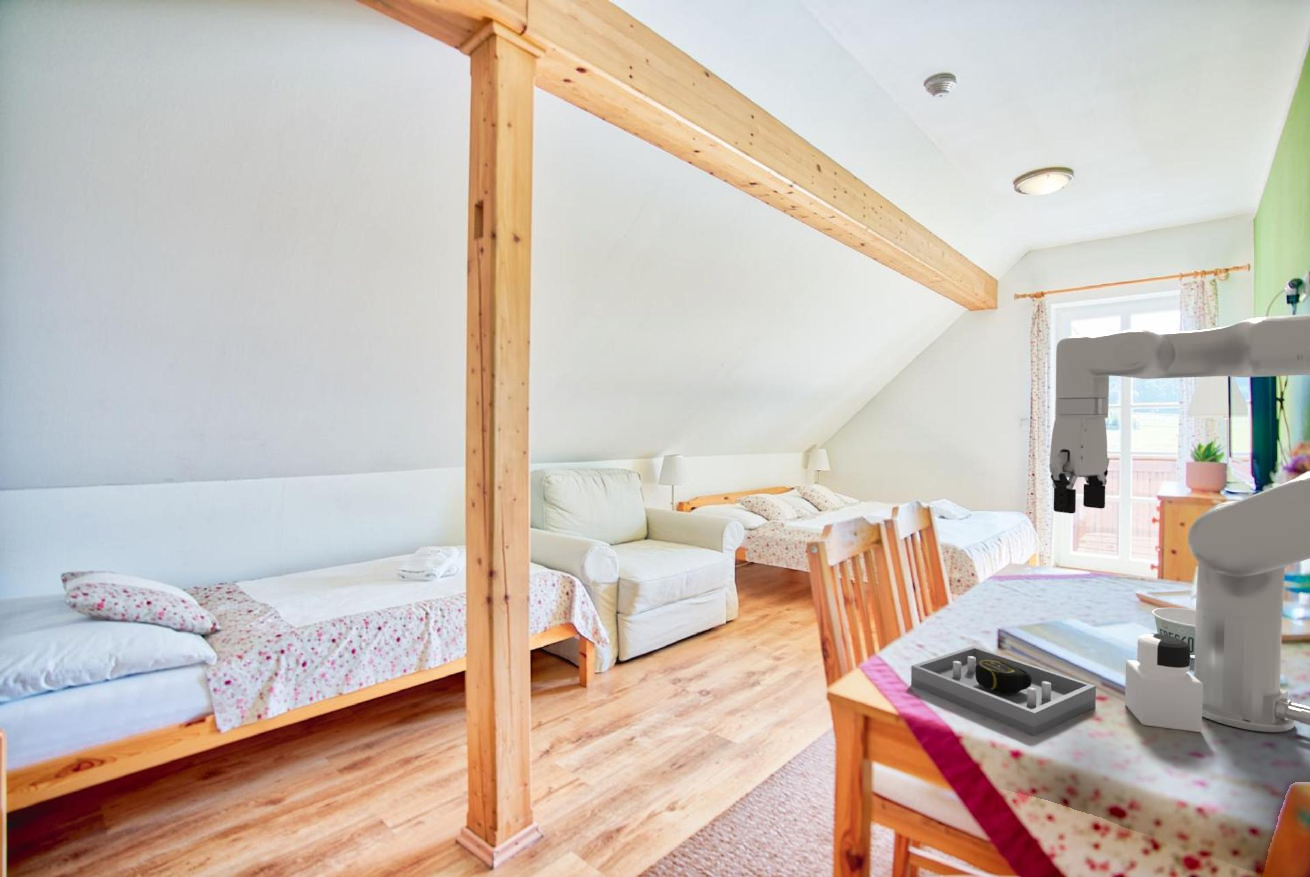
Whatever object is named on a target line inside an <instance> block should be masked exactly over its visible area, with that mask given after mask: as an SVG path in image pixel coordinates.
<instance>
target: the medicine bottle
mask: <svg viewBox="0 0 1310 877" xmlns="http://www.w3.org/2000/svg"><path fill="white" fill-rule="evenodd" d="M1136 656H1137V657H1136V660H1134V659H1127V660H1126V661H1125V682H1124V683H1125V688H1124V690H1125V691H1124V704H1125V706H1126V707H1127V709H1128V710H1130V712H1131V713H1132V714H1133V715H1134V716H1135V718H1136V719H1137V720H1138V721H1139V722H1140V724H1141V725H1143V726H1147V727H1156V728H1162V729H1170V730H1179V731H1186V732H1188V731H1189V732H1196V733H1201V732H1202V731H1203V717H1202V704H1203V684H1202V683H1201V682H1200V681H1199V680H1198V679H1196V678H1195V677H1194V674H1192V673H1191V672H1190V668H1191V667H1190V666H1191V664H1190V661H1191V658H1190V646H1189V645H1188V644H1187V643H1186V642H1184V641H1182V640H1180V639H1178V638H1176V637H1173V636H1169V635H1163V634H1158V633H1146V634H1141V635H1139V636H1138V637H1137V654H1136Z"/></svg>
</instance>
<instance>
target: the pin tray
mask: <svg viewBox="0 0 1310 877" xmlns="http://www.w3.org/2000/svg"><path fill="white" fill-rule="evenodd" d="M991 659H998V660H1001V661H1003V662H1005V663H1008V664H1011V665H1013V666H1015V667H1017V668H1020V669H1022V670H1024V671H1025V672H1027V673H1029V674H1030V676H1031V678H1032V682H1031V686H1030V687H1028V688H1027V689H1024V690H1021V691H1019V692H1017V693H1001V692H1000V693H997V692H995V691H992V690H990V689H987V688H985V687H983V686H981V685H980V684H979V683H978V682H977V680H976V677H975V673H976V672H975V667H976V665H977V664H978V662H979V661H981V660H991ZM910 671H911V674H910V675H911V676H910V678H911V680H910V682H911V684H910V685H911V686H913V687H916V688H918V689H921V690H923V691H925V692H927V693H931V694H933V695H935V696H938V697H941V698H943V699H945V700H947V701H950V702H951V703H955V704H957V705H959V706H962V707H964V708H967V709H969V710H971V711H974V712H976V713H979V714H981V715H984V716H986V717H988V718H991V719H992V720H995V721H998V722H1001V723H1003V724H1005V725H1008V726H1010V727H1012V728H1015V729H1016V730H1018V731H1022V732H1024V733H1027V734H1029V735H1032V736H1033V737H1034V736H1037V735H1038V734H1041V733H1043V732H1045V731H1047V730H1049V729H1051V728H1053V727H1055V726H1058V725H1059V724H1061V723H1064V722H1065V721H1068V720H1070V719H1072V718H1074V717H1076V716H1078V715H1081V714H1083V713H1084V712H1087V711H1088V710H1091V709H1093V708H1095V707H1096V702H1097V699H1096V695H1097V694H1096V693H1097V685H1096V684H1095V685H1094V684H1093V683H1092V684H1091V683H1088V682H1085V681H1083V680H1079V679H1076V678H1073V677H1070V676H1067V675H1064V674H1062V673H1058V672H1055V671H1052V670H1048V669H1046V668H1043V667H1039V666H1036V665H1032V664H1030V663H1027V662H1023V661H1021V660H1017V659H1014V658H1011V657H1008V656H1005V655H1003V654H999V653H997V652H996V653H995V652H992V651H990V650H987V649H984V648H980V647H977V646H975V645H971V646H969V647H966V648H962V649H960V650H956V651H953V652H950V653H946V654H944V655H940V656H937V657H934V658H931V659H928V660H924V661H922V662H917V663H915V664H913V665H911V668H910Z"/></svg>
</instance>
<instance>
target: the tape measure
mask: <svg viewBox="0 0 1310 877" xmlns="http://www.w3.org/2000/svg"><path fill="white" fill-rule="evenodd" d="M975 672H976V673H975V677H976V680H977V682H978V683H979V684H980V685H981V686H983V687H985V688H987V689H990V690H992V691H995V692H997V693H1000V692H1001V693H1017V692H1019V691H1021V690H1024V689H1027V688H1028V687H1030V686H1031V682H1032V678H1031V676H1030V674H1029V673H1027V672H1025V671H1024V670H1022V669H1020V668H1017V667H1015V666H1013V665H1011V664H1008V663H1005V662H1003V661H1001V660H998V659H991V660H981V661H979V662H978V664H977V665H976V667H975Z"/></svg>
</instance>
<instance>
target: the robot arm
mask: <svg viewBox="0 0 1310 877" xmlns="http://www.w3.org/2000/svg"><path fill="white" fill-rule="evenodd" d="M1055 360H1056V361H1055V362H1056V363H1055V405H1054V406H1055V412H1054V414H1055V416H1054V423H1053V428H1052V434H1051V442H1050V443H1051V444H1050V451H1049V452H1050V453H1049V454H1050V456H1049V472H1050V474H1051V475H1050V479H1051V480H1052V483H1051V484H1052V488H1053V511H1054V512H1056V513H1065V514H1075V513H1076V511H1077V510H1076V505H1077V501H1076V500H1077V489H1076V488H1075V489H1074V486H1075V484H1076V482H1077V479H1078V478H1084V481H1085V482H1086V483H1084V484H1083V502H1082V503H1083V504H1082V505H1083V507H1085V508H1092V509H1105V507H1106V485H1107V482H1108V481H1107V475H1109V474H1108V473H1109V471H1108V468H1109V464H1110V459H1109V457H1108V437H1107V436H1108V435H1107V424H1106V423H1107V422H1106V419H1109V400H1110V398H1109V395H1110V394H1109V393H1110V392H1109V391H1110V377H1111V376H1112V377H1113V376H1114V377H1125V378H1134V379H1141V380H1151V379H1152V380H1154V379H1155V380H1156V379H1179V378H1180V379H1181V378H1183V379H1184V378H1207V377H1208V378H1209V377H1233V378H1256V377H1257V378H1259V377H1284V376H1285V377H1289V376H1310V313H1302V314H1289V315H1288V314H1287V315H1274V316H1261V317H1254V318H1250V319H1246V320H1242V321H1239V322H1236V323H1234V324H1231V325H1227V326H1223V327H1216V328H1209V329H1202V330H1201V329H1200V330H1192V331H1191V330H1190V331H1178V332H1164V333H1163V332H1162V333H1154V332H1152V331H1149V330H1144V329H1137V328H1136V329H1127V330H1123V331H1118V332H1113V333H1107V334H1101V335H1097V334H1096V335H1094V334H1092V335H1091V334H1088V335H1085V334H1084V335H1075V336H1074V335H1073V336H1068V337H1064V338H1062V339H1060V340H1059V342H1057V345H1056V359H1055ZM1187 543H1188V544H1187V545H1188V548H1189V551H1190V553H1191V554H1192V556H1193V557H1194V559H1195V560H1196V562H1197V574H1196V575H1197V576H1196V591H1195V593H1196V594H1195V595H1196V596H1195V610H1196V623H1195V659H1194V663H1193V664H1194V667H1193V668H1194V669H1193V672H1194V673H1193V676H1194V677H1195V678H1196V679H1198V680H1199V681H1200V682H1201V683H1202V684H1203V704H1202V718H1205V719H1207V720H1210V721H1213V722H1216V723H1219V724H1222V725H1226V726H1229V727H1235V728H1237V729H1243V730H1249V731H1255V732H1264V733H1283V732H1288V731H1290V730H1293V728H1294V726H1295V722H1298V723H1300V724H1302V725H1303V724H1304V725H1305V726H1310V706H1308V705H1304V704H1298V703H1295V702H1293V701H1292V700H1291V699H1289V697H1288V696H1289V695H1288V690H1286V689H1283V688H1281V672H1282V671H1281V667H1282V637H1283V636H1282V635H1283V634H1282V633H1283V614H1284V588H1285V583H1284V582H1285V571H1286V570H1285V568H1286V567H1287V566H1290V565H1293V564H1297V563H1300V562H1303V561H1307V560H1309V559H1310V470H1308V471H1306V472H1304V473H1301V474H1300V475H1297V476H1296V477H1294V479H1291V480H1289V481H1287V482H1283V483H1280V484H1278V485H1276V486H1274V487H1271V488H1268V489H1265V490H1263V491H1260V492H1258V493H1255V494H1252V495H1250V496H1247V497H1244V498H1241V499H1240V500H1232V501H1231V500H1230V501H1225V502H1222V503H1219V504H1216V505H1213V506H1212V507H1211V508H1209V509H1208V510H1206V511H1204V512H1203V513H1202V514H1201V515H1200V516H1198V517H1197V518H1196V519H1195V520H1194V521H1193V523H1191V526H1190V528H1189V531H1188V534H1187Z"/></svg>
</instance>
